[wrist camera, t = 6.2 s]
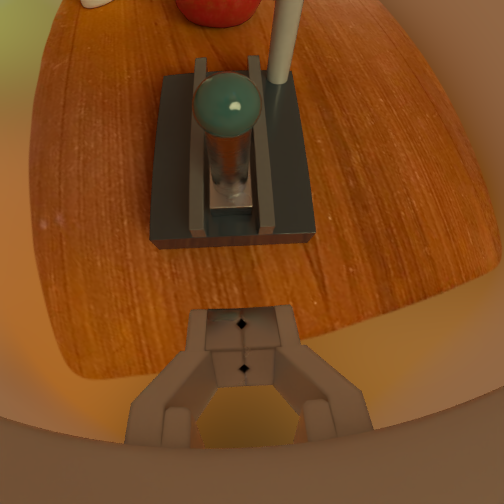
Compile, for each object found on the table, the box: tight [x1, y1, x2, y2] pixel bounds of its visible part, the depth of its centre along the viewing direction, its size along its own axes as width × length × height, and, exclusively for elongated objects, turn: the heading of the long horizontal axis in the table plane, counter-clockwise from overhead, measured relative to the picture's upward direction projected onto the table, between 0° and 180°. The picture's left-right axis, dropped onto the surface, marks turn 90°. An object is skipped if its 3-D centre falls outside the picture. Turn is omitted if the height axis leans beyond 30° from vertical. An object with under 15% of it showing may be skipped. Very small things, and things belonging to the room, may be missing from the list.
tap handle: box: [192, 71, 262, 216], centre depth 17 cm, size 3×4×12 cm
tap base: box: [149, 0, 316, 249], centre depth 20 cm, size 12×16×14 cm
